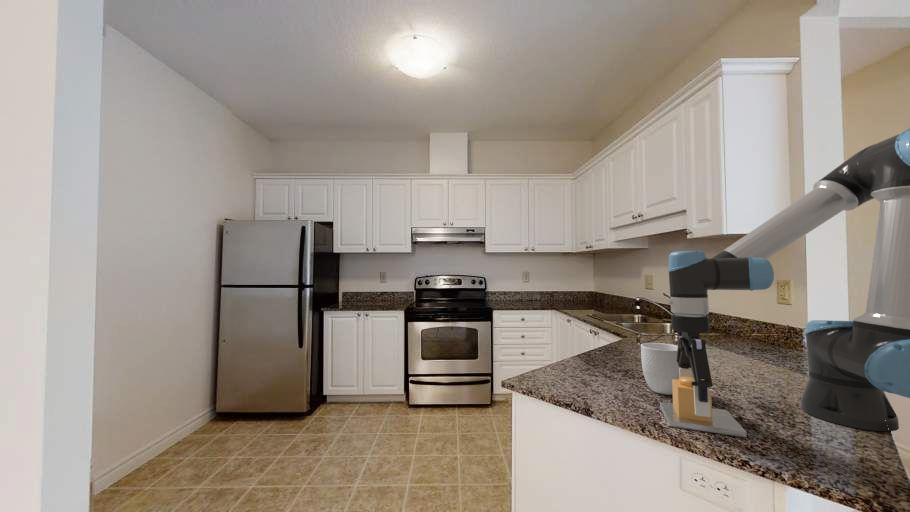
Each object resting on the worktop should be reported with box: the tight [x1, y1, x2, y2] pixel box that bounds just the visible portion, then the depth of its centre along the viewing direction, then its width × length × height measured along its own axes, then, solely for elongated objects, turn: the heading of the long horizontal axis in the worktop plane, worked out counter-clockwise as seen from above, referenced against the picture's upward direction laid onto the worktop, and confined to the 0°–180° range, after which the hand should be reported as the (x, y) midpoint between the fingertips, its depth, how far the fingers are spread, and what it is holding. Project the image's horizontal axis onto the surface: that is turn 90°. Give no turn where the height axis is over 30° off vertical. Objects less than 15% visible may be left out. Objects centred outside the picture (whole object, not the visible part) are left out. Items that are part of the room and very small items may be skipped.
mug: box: [640, 342, 681, 396], centre depth 97 cm, size 15×11×13 cm
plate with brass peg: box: [659, 401, 748, 438], centre depth 79 cm, size 14×12×7 cm
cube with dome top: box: [672, 377, 713, 422], centre depth 79 cm, size 6×6×8 cm
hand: (694, 404), depth 79 cm, fingers open, 13 cm apart
